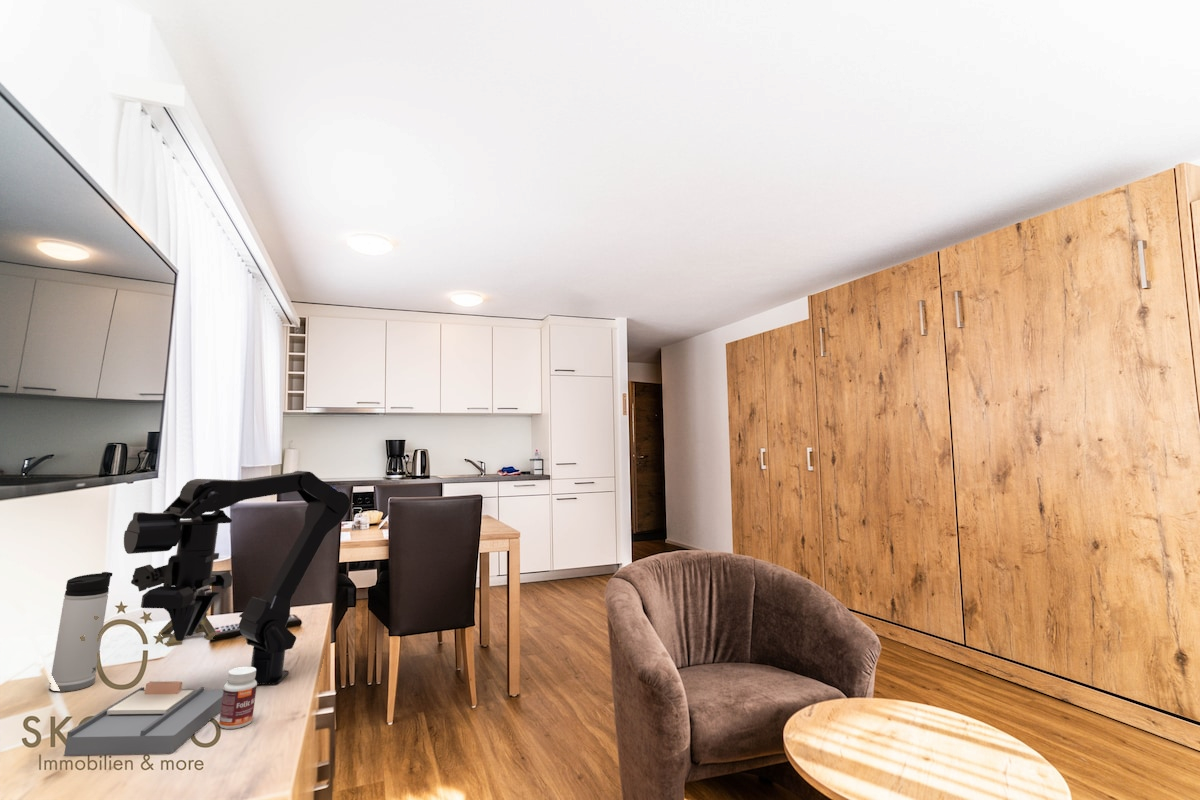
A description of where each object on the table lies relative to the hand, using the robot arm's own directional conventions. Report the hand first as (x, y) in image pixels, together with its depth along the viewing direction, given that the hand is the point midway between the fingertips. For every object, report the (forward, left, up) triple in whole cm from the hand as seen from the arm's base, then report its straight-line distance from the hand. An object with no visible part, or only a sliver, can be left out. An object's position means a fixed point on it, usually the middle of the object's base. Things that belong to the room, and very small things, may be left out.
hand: (184, 638), depth 102 cm
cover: (+8, 0, -8) cm, 11 cm away
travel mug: (-8, -22, -11) cm, 26 cm away
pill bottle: (+9, +13, -11) cm, 19 cm away
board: (+10, +2, -11) cm, 15 cm away
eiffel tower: (-39, -18, -11) cm, 45 cm away
